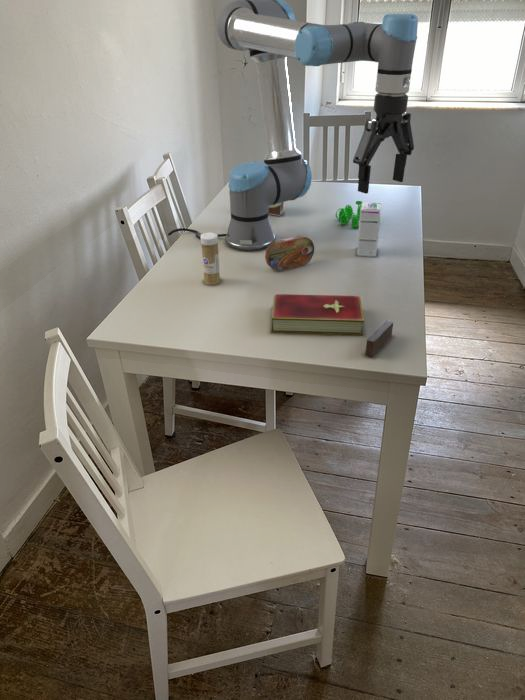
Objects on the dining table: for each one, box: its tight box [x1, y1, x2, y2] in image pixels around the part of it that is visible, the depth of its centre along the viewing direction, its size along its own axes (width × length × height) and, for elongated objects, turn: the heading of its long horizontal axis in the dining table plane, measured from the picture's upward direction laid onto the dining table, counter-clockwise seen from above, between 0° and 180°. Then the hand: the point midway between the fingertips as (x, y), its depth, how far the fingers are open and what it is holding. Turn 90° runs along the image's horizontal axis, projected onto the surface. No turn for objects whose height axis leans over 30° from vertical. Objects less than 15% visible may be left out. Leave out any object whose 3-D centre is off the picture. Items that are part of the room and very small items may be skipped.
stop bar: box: [364, 319, 394, 358], centre depth 117 cm, size 2×10×4 cm, turn 144°
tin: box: [264, 235, 315, 272], centre depth 150 cm, size 15×3×8 cm, turn 117°
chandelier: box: [335, 200, 363, 229], centre depth 178 cm, size 15×15×7 cm
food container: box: [269, 202, 285, 217], centre depth 186 cm, size 12×6×10 cm, turn 58°
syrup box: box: [356, 201, 382, 258], centre depth 155 cm, size 6×6×14 cm
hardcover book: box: [270, 293, 365, 336], centre depth 126 cm, size 12×21×4 cm, turn 86°
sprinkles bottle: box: [200, 232, 221, 286], centre depth 141 cm, size 5×5×14 cm
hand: (380, 186), depth 133 cm, fingers open, 13 cm apart
